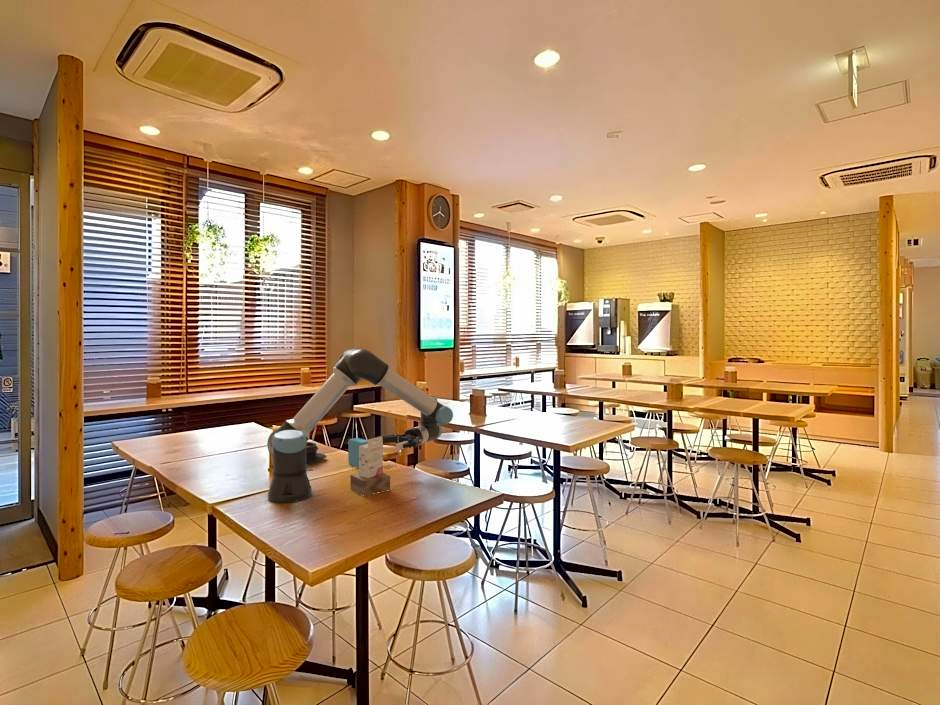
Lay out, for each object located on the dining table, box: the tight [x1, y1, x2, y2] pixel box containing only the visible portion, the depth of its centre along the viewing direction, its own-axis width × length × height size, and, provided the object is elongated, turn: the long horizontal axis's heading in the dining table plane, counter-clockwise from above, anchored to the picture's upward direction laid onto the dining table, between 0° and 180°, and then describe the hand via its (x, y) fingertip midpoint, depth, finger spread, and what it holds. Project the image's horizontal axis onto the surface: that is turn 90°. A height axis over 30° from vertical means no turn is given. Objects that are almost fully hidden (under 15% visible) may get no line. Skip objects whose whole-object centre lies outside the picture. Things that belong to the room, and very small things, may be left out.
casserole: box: [306, 441, 327, 465], centre depth 232 cm, size 25×19×8 cm
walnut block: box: [349, 472, 391, 497], centre depth 191 cm, size 11×11×6 cm
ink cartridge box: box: [358, 435, 384, 478], centre depth 191 cm, size 9×5×15 cm, turn 147°
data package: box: [347, 437, 368, 469], centre depth 226 cm, size 12×4×12 cm, turn 44°
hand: (383, 445), depth 197 cm, fingers open, 13 cm apart
